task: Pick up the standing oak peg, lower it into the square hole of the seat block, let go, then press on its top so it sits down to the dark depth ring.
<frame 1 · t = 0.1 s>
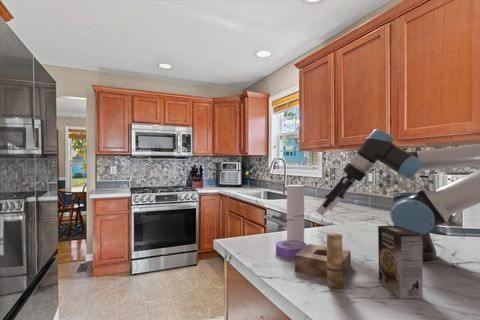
hand: (324, 210, 103), 15 cm above the counter, tool tilted 35°, fingers open, 13 cm apart
masking tape: (291, 255, 98), on the counter
seat block: (323, 268, 84), on the counter
cylindrical container: (295, 245, 110), on the counter
peg: (334, 286, 71), on the counter
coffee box: (399, 291, 69), on the counter
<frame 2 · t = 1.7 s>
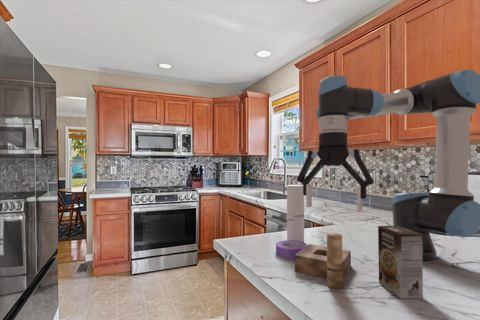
hand: (333, 208, 72), 21 cm above the counter, tool pointing down, fingers open, 13 cm apart
nothing on the counter moved.
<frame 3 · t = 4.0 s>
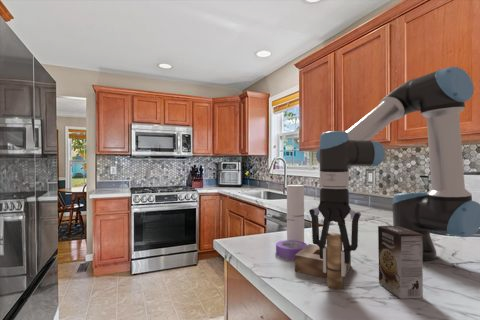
hand: (334, 272, 71), 4 cm above the counter, tool pointing down, fingers closed on peg, 4 cm apart
peg: (334, 286, 71), on the counter, touching gripper
everything else where it was.
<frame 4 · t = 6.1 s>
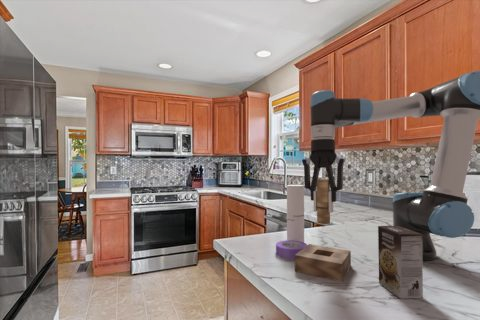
hand: (323, 211, 84), 18 cm above the counter, tool pointing down, fingers closed on peg, 4 cm apart
peg: (323, 222, 84), point 15 cm above the counter, touching gripper
everything else where it was.
when the fingers open (6 cm above the counter, at t = 8.2 s): peg drops 2 cm, resting in seat block.
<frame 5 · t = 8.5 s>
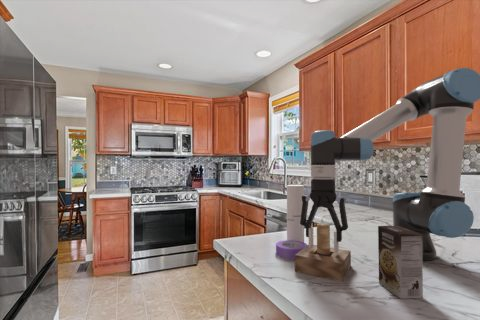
hand: (323, 249, 84), 6 cm above the counter, tool pointing down, fingers open, 7 cm apart
peg: (323, 268, 84), resting in seat block
everything else where it was.
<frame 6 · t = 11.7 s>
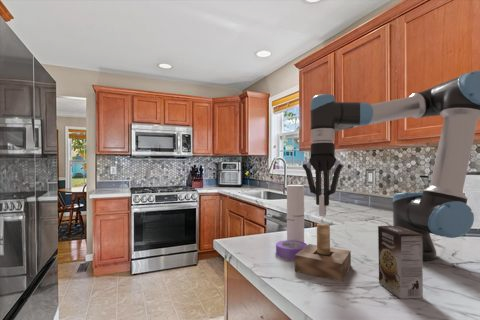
hand: (322, 215, 84), 17 cm above the counter, tool pointing down, fingers closed
nothing on the counter moved.
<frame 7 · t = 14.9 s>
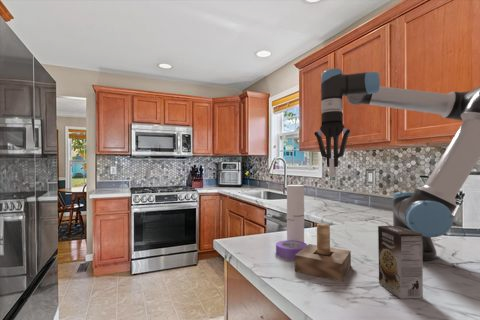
hand: (332, 176, 96), 29 cm above the counter, tool pointing down, fingers closed
nothing on the counter moved.
at the end: peg 0.0 cm off-centre on the seat block, point 0.0 cm above the seat block's base; peg tilted 0°; the gripper is holding nothing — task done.
